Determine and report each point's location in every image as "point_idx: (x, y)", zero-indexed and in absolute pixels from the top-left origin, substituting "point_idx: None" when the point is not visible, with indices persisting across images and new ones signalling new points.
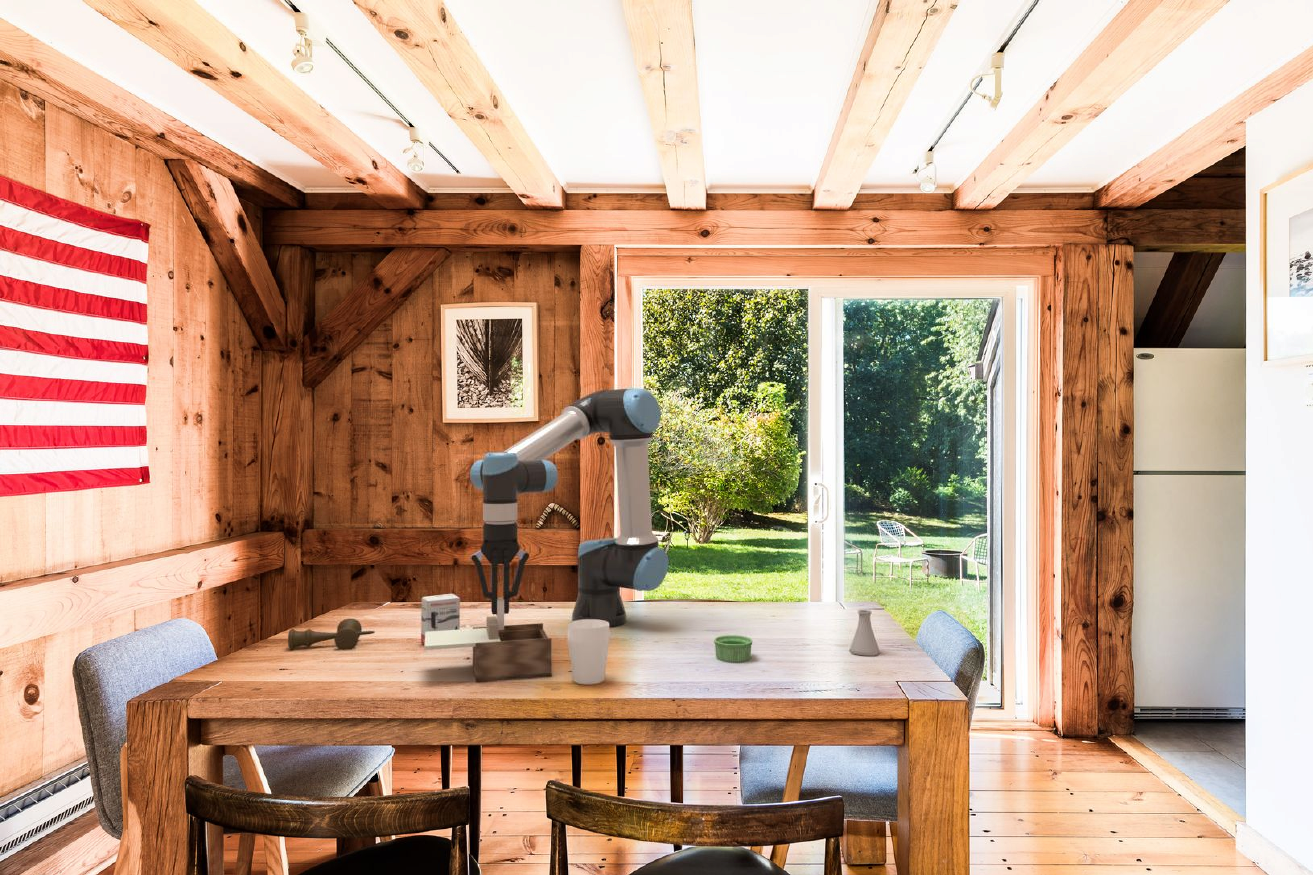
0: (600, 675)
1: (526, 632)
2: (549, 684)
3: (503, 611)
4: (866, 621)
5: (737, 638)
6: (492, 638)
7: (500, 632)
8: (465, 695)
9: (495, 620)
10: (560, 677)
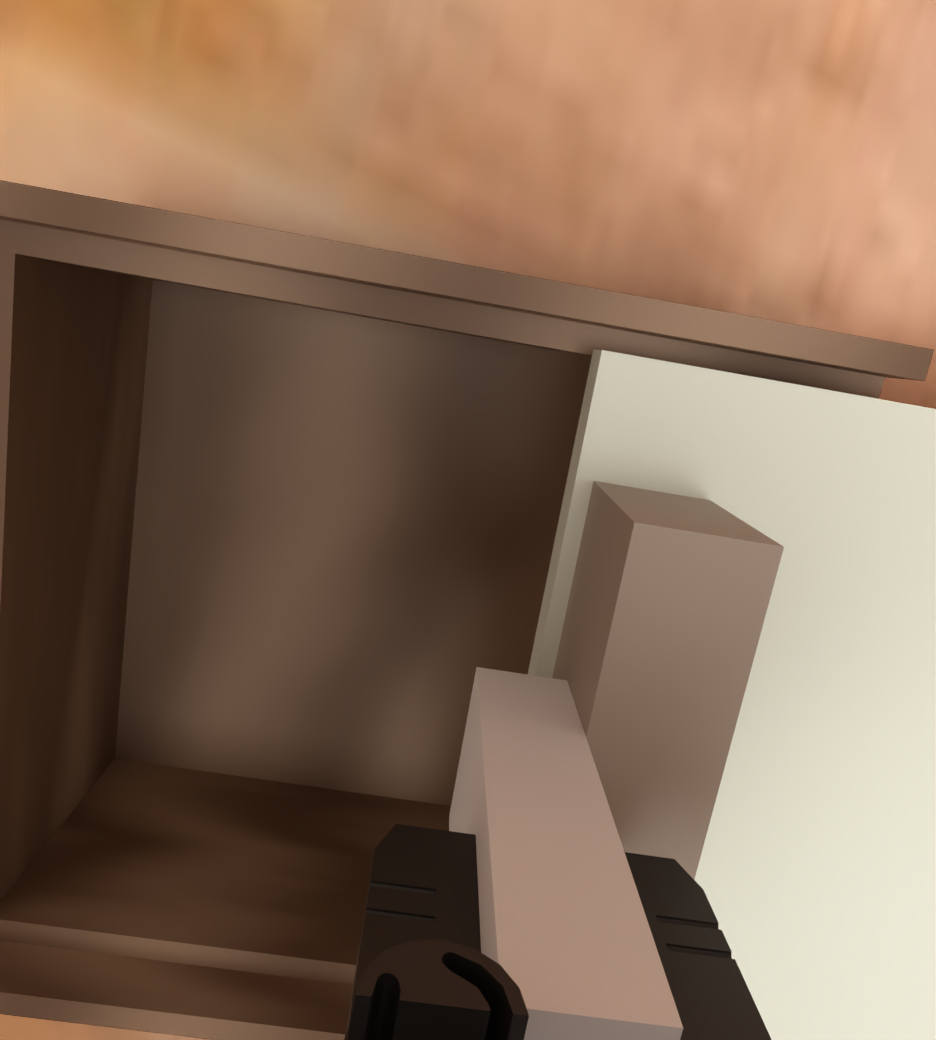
0: None
1: (140, 920)
2: (195, 4)
3: (500, 822)
4: None
5: None
6: (671, 493)
7: None
8: (925, 18)
9: None
10: (58, 175)
